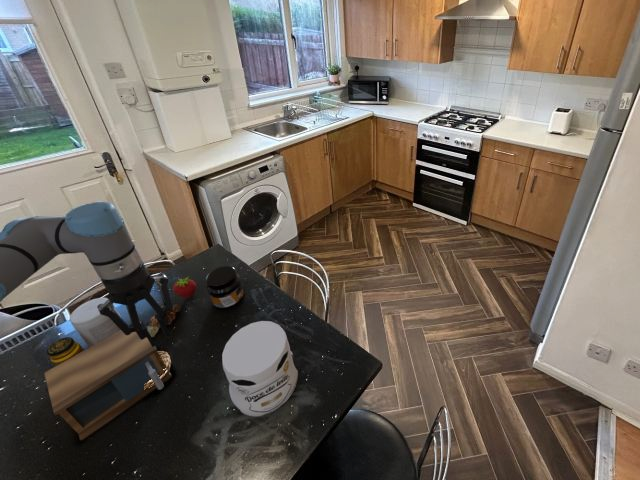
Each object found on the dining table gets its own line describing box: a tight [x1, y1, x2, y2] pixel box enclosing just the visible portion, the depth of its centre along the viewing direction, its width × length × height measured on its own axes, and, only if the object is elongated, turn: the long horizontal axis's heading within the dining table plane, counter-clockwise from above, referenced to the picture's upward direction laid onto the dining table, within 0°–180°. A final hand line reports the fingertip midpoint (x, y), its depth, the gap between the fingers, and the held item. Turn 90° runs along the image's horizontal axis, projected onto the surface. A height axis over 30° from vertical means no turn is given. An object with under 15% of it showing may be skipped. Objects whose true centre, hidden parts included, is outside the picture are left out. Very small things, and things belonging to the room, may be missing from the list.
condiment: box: [46, 336, 86, 367], centre depth 87 cm, size 7×8×12 cm
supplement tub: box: [69, 297, 123, 348], centre depth 94 cm, size 10×10×15 cm
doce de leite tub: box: [221, 320, 299, 417], centre depth 82 cm, size 17×17×18 cm
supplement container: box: [205, 265, 245, 311], centre depth 110 cm, size 10×10×12 cm
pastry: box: [145, 303, 181, 338], centre depth 103 cm, size 7×12×4 cm, turn 174°
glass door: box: [111, 353, 166, 402], centre depth 81 cm, size 5×9×10 cm, turn 140°
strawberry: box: [172, 275, 197, 300], centre depth 111 cm, size 6×8×10 cm
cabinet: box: [43, 319, 173, 441], centre depth 82 cm, size 14×20×13 cm
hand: (159, 338), depth 78 cm, fingers open, 3 cm apart
